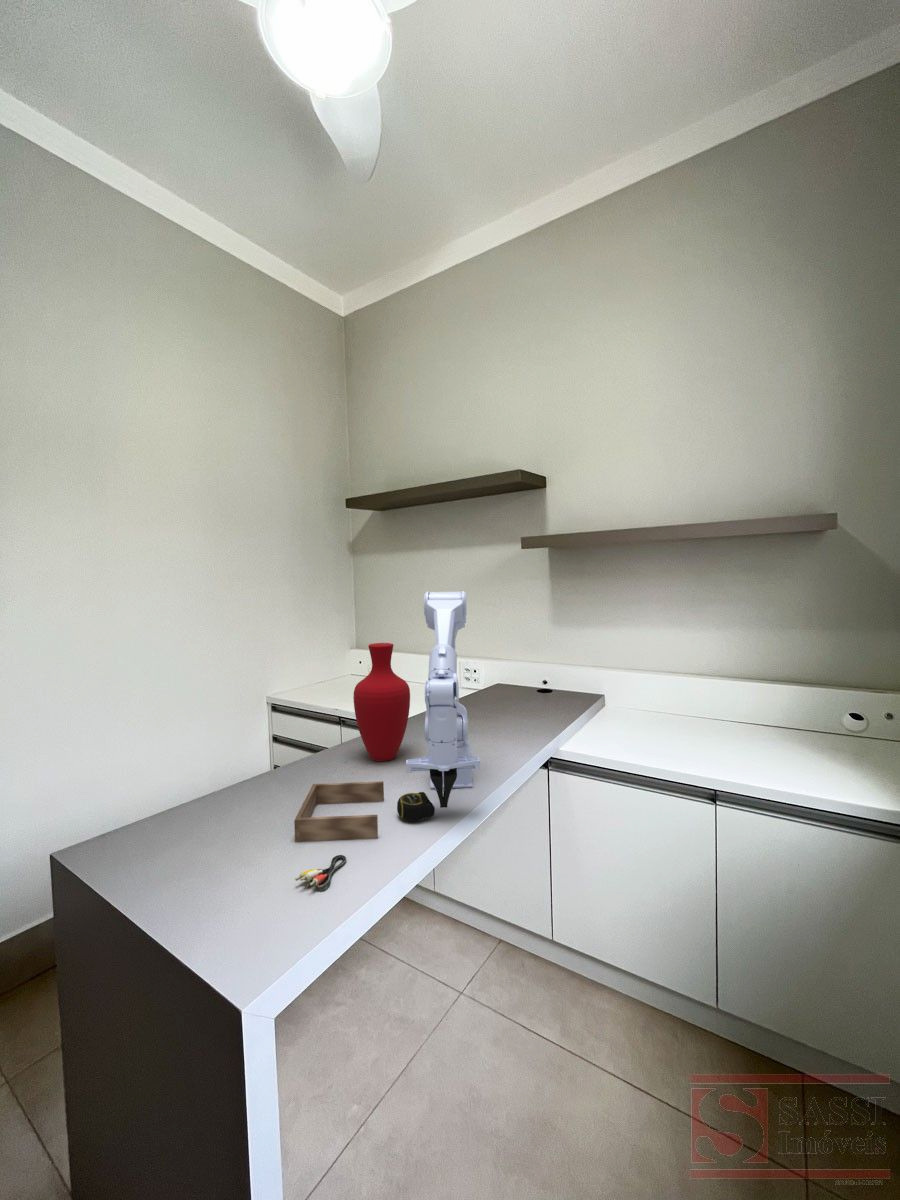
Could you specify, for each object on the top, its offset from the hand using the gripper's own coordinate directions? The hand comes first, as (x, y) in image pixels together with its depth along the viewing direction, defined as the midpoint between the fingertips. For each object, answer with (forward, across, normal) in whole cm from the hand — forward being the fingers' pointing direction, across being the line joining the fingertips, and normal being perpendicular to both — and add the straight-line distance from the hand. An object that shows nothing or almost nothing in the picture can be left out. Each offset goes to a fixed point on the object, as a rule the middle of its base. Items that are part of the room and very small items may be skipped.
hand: (443, 805), depth 99 cm
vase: (+2, -14, +33) cm, 36 cm away
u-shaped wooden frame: (+2, -19, 0) cm, 19 cm away
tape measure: (+2, -5, +1) cm, 6 cm away
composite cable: (+2, -19, -18) cm, 27 cm away
